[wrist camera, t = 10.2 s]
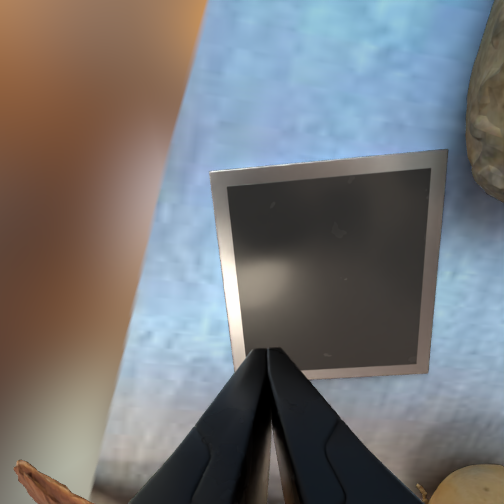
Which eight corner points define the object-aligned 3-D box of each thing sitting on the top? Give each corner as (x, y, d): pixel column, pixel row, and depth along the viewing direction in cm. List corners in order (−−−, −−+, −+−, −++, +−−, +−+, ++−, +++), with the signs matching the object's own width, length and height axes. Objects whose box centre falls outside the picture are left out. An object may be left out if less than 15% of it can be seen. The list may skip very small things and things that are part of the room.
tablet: (419, 362, 16) (429, 375, 15) (237, 372, 17) (235, 385, 16) (436, 149, 13) (450, 148, 12) (212, 170, 14) (208, 171, 13)
